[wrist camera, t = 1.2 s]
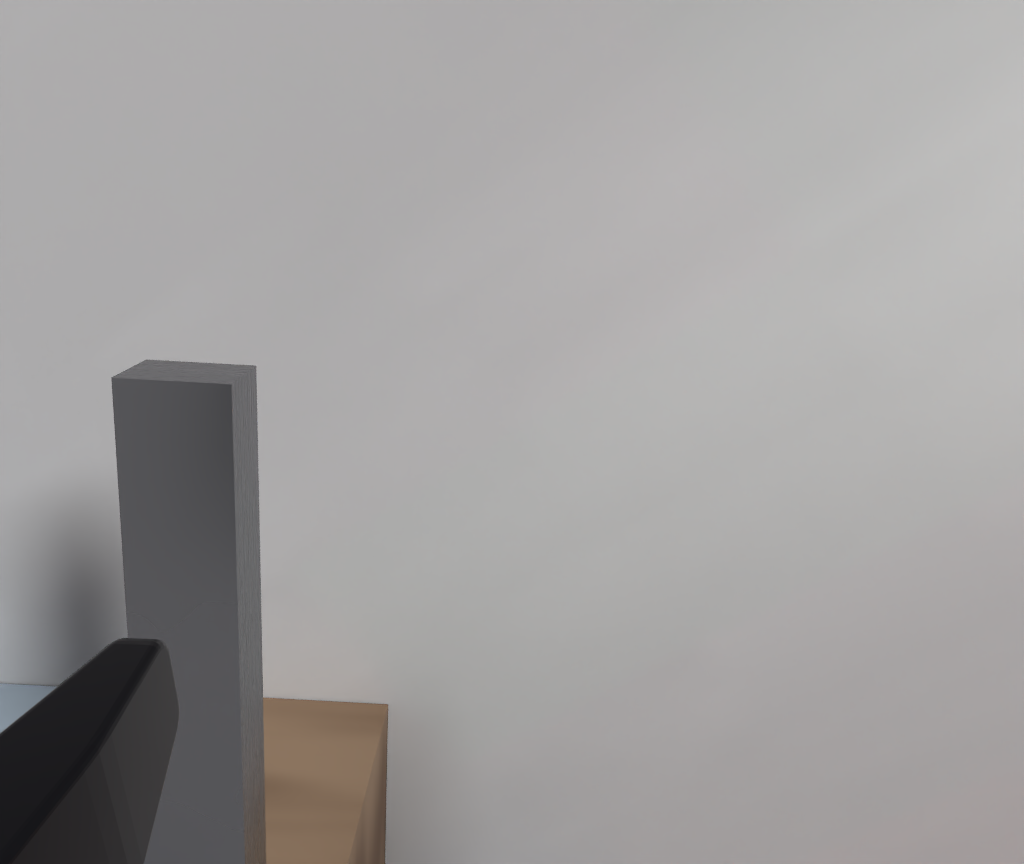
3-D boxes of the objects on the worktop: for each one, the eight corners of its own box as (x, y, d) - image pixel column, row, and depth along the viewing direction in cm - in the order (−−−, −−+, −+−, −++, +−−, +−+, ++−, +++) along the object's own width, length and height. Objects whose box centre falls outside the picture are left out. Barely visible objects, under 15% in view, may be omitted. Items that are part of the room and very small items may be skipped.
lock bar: (294, 1061, 18) (272, 1147, 16) (166, 1054, 18) (131, 1140, 16) (287, 364, 14) (257, 389, 12) (124, 355, 14) (74, 378, 12)
